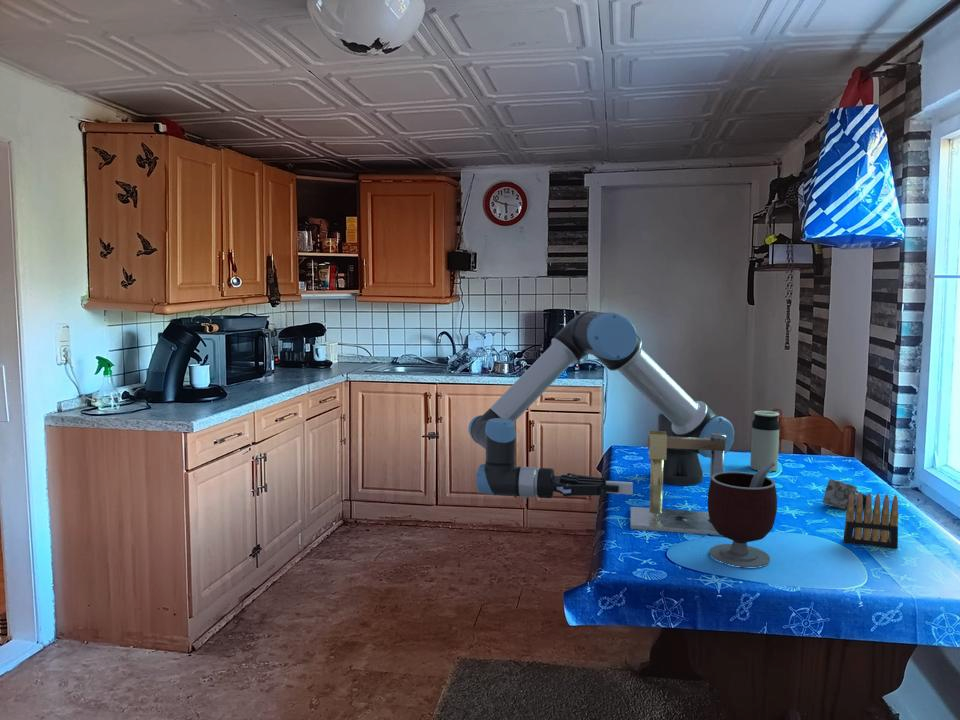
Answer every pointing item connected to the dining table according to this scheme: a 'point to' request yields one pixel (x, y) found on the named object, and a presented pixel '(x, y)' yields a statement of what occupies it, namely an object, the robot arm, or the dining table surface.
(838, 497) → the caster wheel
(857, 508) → the ammunition clip
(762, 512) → the mate gourd
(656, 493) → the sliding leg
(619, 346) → the robot arm
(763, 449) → the travel mug
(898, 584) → the dining table surface
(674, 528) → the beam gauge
